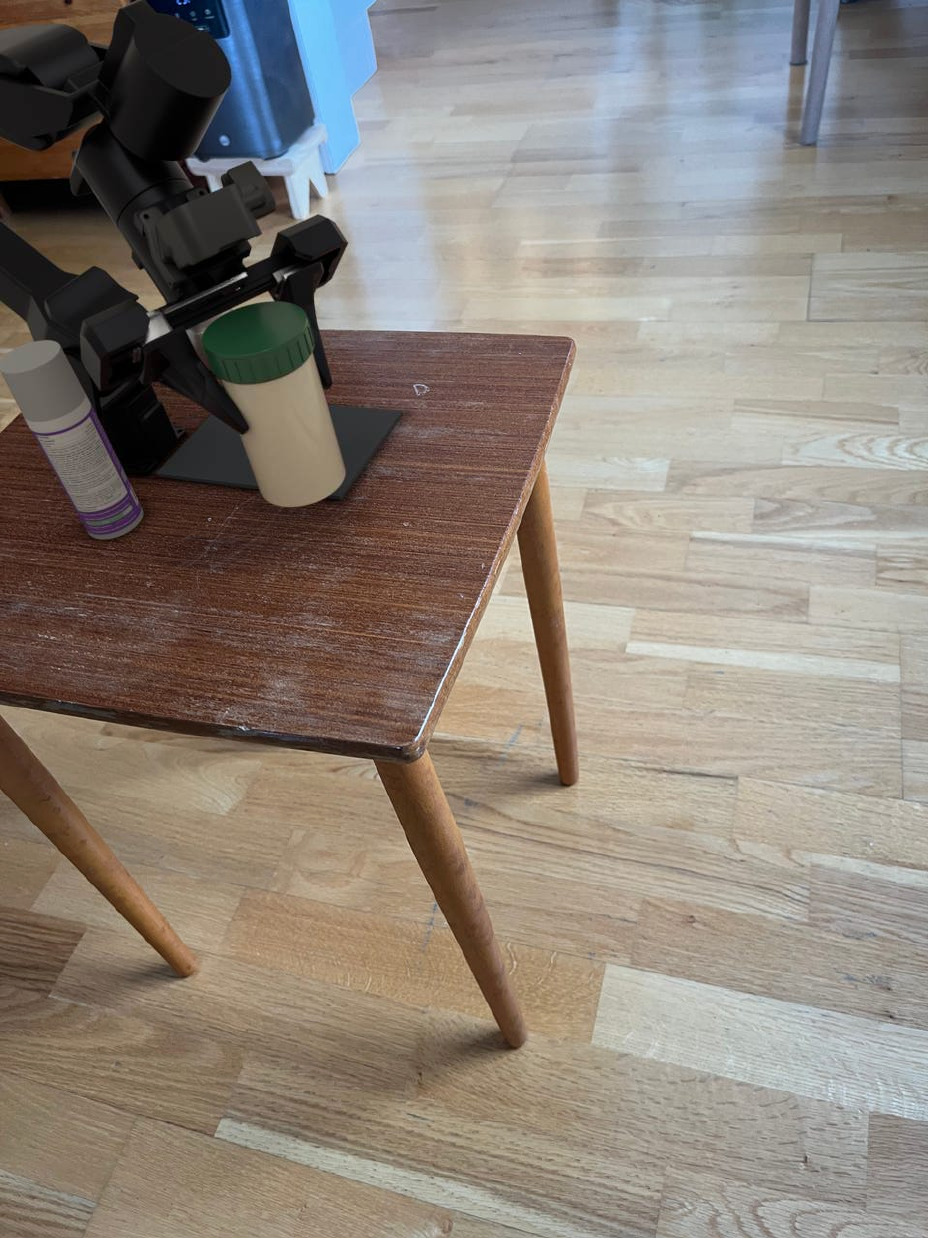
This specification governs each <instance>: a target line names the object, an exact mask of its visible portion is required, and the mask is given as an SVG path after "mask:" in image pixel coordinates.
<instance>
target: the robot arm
mask: <svg viewBox="0 0 928 1238" xmlns="http://www.w3.org/2000/svg"><path fill="white" fill-rule="evenodd" d="M114 18H115V19H114V22H113V24H112V36H111V40H110V42H109V45H106V44H103V43H97V42H94V41H89V40H88V37H87V36H86V35H85V34H84V33H82V32H81V31H80V30H79V29H77V28H75V27H73V26H71V25H68V24H65V23H48V24H47V23H45V24H29V25H23V26H17V27H11V28H7V29H1V30H0V139H2V140H4V141H6V142H8V143H10V144H13V145H15V146H18V147H20V148H22V149H24V150H27V151H30V152H36V153H37V152H38V153H39V152H44V151H46V150H48V149H51V148H52V147H53V146H56V145H57V144H60V142H62V141H64V140H66V139H68V138H70V137H71V136H73V135H75V134H77V133H78V132H80V131H82V130H85V129H86V128H88V127H89V126H91V125H92V124H94V125H92V126H91V127H90V128H88V130H86V132H85V133H84V134H83V136H82V140H81V142H80V145H79V147H78V149H74V150H72V151H71V153H70V156H71V162H72V163H71V165H72V166H71V172H70V174H69V184H70V190H71V193H72V194H73V195H74V196H77V197H78V196H84V195H90V194H93V193H94V195H95V197H96V199H97V200H98V201H99V203H100V205H101V206H102V208H103V209H104V210H105V212H106V213H107V215H108V216H109V218H110V220H111V221H112V222H113V224H114V225H115V227H116V228H117V230H118V232H119V233H120V234H121V236H122V237H123V239H124V240H125V242H126V243H127V246H128V247H129V248H130V250H131V260H132V261H133V263H134V264H135V265H136V267H137V268H138V270H139V271H142V270H144V271H145V272H146V274H147V275H148V277H149V278H150V280H151V281H152V283H153V285H154V286H155V287H156V289H157V290H158V292H159V293H160V295H161V297H162V298H163V300H164V299H165V301H166V302H167V304H164V305H162V306H160V307H158V308H154V309H152V310H148V309H147V308H146V307H145V306H144V305H143V304H141V303H140V302H139V301H138V300H139V299H140V296H139V295H138V294H136V293H134V292H133V291H129V290H128V289H127V288H125V287H123V286H122V285H121V284H120V283H119V282H117V281H116V280H115V279H114V278H113V276H111V274H109V272H107V271H106V270H105V269H103V268H101V267H98V266H96V265H92V266H90V267H89V268H88V269H86V270H85V271H84V272H82V273H81V274H78V273H77V274H76V273H73V272H72V273H71V272H67V271H65V270H63V269H62V268H60V267H59V266H58V265H57V264H56V263H54V262H53V261H52V260H50V259H49V258H48V257H47V256H45V255H44V254H43V253H42V252H40V251H39V250H38V249H37V248H36V247H34V246H33V245H32V244H31V243H29V241H27V240H26V239H24V238H23V237H22V236H21V235H19V234H18V233H17V231H15V230H13V229H12V228H11V227H9V226H8V225H7V224H6V223H5V222H3V220H1V219H0V302H1V303H2V304H4V306H6V307H7V308H9V309H10V310H11V311H12V312H13V313H15V314H16V315H17V316H19V317H20V318H21V319H22V320H23V321H24V322H25V323H26V325H27V328H28V330H29V333H30V335H31V338H32V342H36V341H42V340H50V341H55V342H57V343H58V344H59V345H60V346H61V348H62V350H63V352H64V354H65V356H66V358H67V360H68V361H69V363H70V365H71V367H72V369H73V371H74V373H75V375H76V377H77V379H78V380H79V382H80V384H81V386H82V388H83V390H84V392H85V394H86V396H87V398H88V399H89V401H90V403H91V405H92V407H93V409H94V411H95V413H96V415H97V417H98V419H99V421H100V423H101V425H102V427H103V429H104V431H105V433H106V435H107V438H108V440H109V442H110V444H111V446H112V448H113V450H114V452H115V454H116V456H117V458H118V460H119V462H120V464H121V466H122V468H123V470H124V472H125V474H130V475H138V476H148V475H149V474H151V473H152V472H153V471H154V470H155V469H156V468H157V467H158V466H159V465H160V464H161V463H162V462H163V461H164V459H166V457H168V455H169V454H170V453H172V451H173V450H174V449H175V448H177V446H178V445H179V444H180V443H181V442H182V440H183V439H185V438H186V436H187V434H188V433H187V429H186V428H183V427H175V426H173V425H172V423H171V420H170V418H169V416H168V413H167V411H166V408H165V406H164V403H163V402H162V401H161V400H159V398H158V397H157V394H156V391H155V389H154V387H153V385H152V384H154V383H157V384H159V385H162V386H164V387H165V388H168V389H169V390H171V391H173V392H175V393H177V394H179V395H180V396H182V397H184V398H186V399H187V400H190V401H191V402H193V403H194V404H196V405H198V406H199V407H201V408H202V409H204V410H205V411H206V412H207V413H209V414H210V415H211V414H212V415H214V416H215V417H217V418H218V419H220V420H221V421H223V422H224V423H226V424H227V425H228V426H230V427H231V428H233V429H234V430H236V431H237V432H239V433H240V434H242V435H244V434H246V433H248V430H249V426H248V424H247V422H246V421H245V419H244V417H243V416H242V414H241V412H240V411H239V409H238V407H237V406H236V405H235V403H234V402H233V401H232V399H231V398H230V397H229V395H228V394H227V393H226V392H225V390H224V389H223V388H222V385H221V383H220V381H218V380H217V377H216V376H214V374H213V373H212V371H209V369H208V368H207V367H206V365H205V364H204V363H203V362H202V360H201V359H200V357H199V356H198V354H197V352H196V350H195V348H194V346H193V344H192V342H191V340H190V338H189V336H188V334H187V332H186V330H188V329H190V328H192V327H194V326H196V325H198V324H200V323H202V322H204V321H207V320H209V319H211V318H213V317H215V316H217V315H219V314H221V313H223V312H225V311H227V310H230V309H233V308H236V307H238V306H240V305H243V304H244V303H247V302H249V301H250V300H252V299H255V298H257V297H259V296H261V295H263V294H265V293H268V294H269V296H270V297H271V298H272V300H273V301H281V302H288V303H292V304H295V305H297V306H299V307H301V308H302V309H303V310H304V311H305V313H306V316H307V319H308V320H309V322H310V325H311V329H312V333H313V336H314V340H313V341H314V345H315V347H314V349H313V354H314V357H315V361H316V365H317V368H318V372H319V375H320V379H321V383H322V386H323V390H324V391H328V390H329V389H331V387H332V386H333V383H334V382H333V378H332V374H331V370H330V366H329V363H328V357H327V355H326V351H325V347H324V344H323V343H324V342H323V339H322V336H321V332H320V328H319V324H318V320H317V319H318V318H317V311H316V305H315V294H316V291H317V289H320V288H322V287H324V286H325V285H326V284H328V283H330V281H331V280H332V279H333V278H334V275H335V273H336V271H337V268H338V267H339V264H340V262H341V261H342V258H343V256H344V254H345V251H346V249H347V247H348V245H349V241H348V240H347V239H346V237H345V235H344V234H343V232H342V230H341V229H340V227H339V226H338V224H337V223H336V222H335V221H334V220H332V219H330V218H329V217H326V216H324V215H321V214H319V213H318V214H316V215H313V216H311V217H309V218H306V219H304V220H302V221H300V222H298V223H296V224H293V225H291V226H289V227H287V228H284V229H282V230H280V231H278V232H277V233H276V236H275V239H274V242H273V245H272V248H271V251H270V254H269V256H268V257H266V258H263V259H262V260H259V261H257V262H255V263H253V264H251V265H248V266H246V265H245V263H244V262H243V261H244V259H246V258H249V257H250V255H251V252H252V248H253V246H252V245H251V244H250V240H252V239H254V238H258V237H260V236H262V235H263V231H262V229H261V228H260V225H259V223H258V221H260V220H262V219H264V218H266V217H268V216H270V215H271V214H273V213H275V212H276V211H277V201H276V198H275V196H274V194H273V192H272V190H271V187H270V185H269V183H268V181H267V180H266V179H265V177H264V176H263V174H262V173H261V172H260V170H259V169H258V168H257V166H256V165H255V164H254V162H253V160H249V161H246V162H244V163H241V164H238V165H236V166H234V167H231V168H229V169H227V171H226V172H225V173H223V174H221V176H220V183H221V185H222V187H221V188H218V189H215V190H214V191H212V192H208V191H207V189H205V188H204V187H203V186H202V184H197V185H195V186H194V185H193V184H192V182H191V181H190V179H189V178H188V176H187V175H186V173H185V172H184V170H183V169H182V167H181V166H180V164H179V163H178V162H181V161H185V160H187V159H189V158H191V157H192V156H193V155H194V153H195V152H196V151H197V149H198V147H199V146H200V144H201V142H202V140H203V138H204V136H205V134H206V132H207V130H208V128H209V126H210V125H211V123H212V121H213V119H214V118H215V115H216V114H217V111H218V109H219V107H220V105H221V103H222V102H223V99H224V98H225V96H226V94H227V92H228V90H229V87H230V86H231V82H232V80H233V79H232V78H233V77H232V67H231V65H230V62H229V58H228V56H227V55H226V53H225V52H224V50H223V48H222V47H221V45H220V44H219V43H218V42H217V40H215V38H214V37H213V36H212V35H211V34H210V32H209V33H208V31H206V30H203V29H199V28H198V27H197V26H195V25H194V24H192V23H190V22H188V21H186V20H184V19H182V18H180V17H178V16H175V15H172V14H165V13H160V12H159V13H158V12H156V11H155V10H154V8H153V7H151V6H150V5H149V4H148V2H146V0H134V1H133V2H131V3H128V4H127V5H124V6H121V7H120V8H118V10H117V14H116V16H115V17H114ZM100 120H101V121H100ZM98 121H100V122H99V123H96V122H98ZM95 123H96V124H95ZM165 301H164V302H165Z"/></svg>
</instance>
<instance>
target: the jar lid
mask: <svg viewBox="0 0 928 1238" xmlns="http://www.w3.org/2000/svg"><path fill="white" fill-rule="evenodd" d="M313 340H314V336H313V333H312V329H311V325H310V322H309V320H308V319H307V316H306V313H305V311H304V310H303V309H302V308H301V307H299V306H297V305H295V304H292V303H288V302H281V301H274V300H273V301H271V300H270V301H260V302H255V303H250V304H247V305H243V306H241V307H238V308H235V309H233V310H232V311H230V312H228V313H226V314H224V315H222V316H220V317H219V318H217V319H216V320H214V321H213V322H212V323H211V324H210V325H209V326H208V327H207V328H206V330H205V331H204V333H203V335H202V344H203V350H204V353H205V355H206V358H207V361H208V363H209V366H210V367H211V370H212V371H211V373H212V375H215V377H216V378H218V379H219V378H220V379H222V380H224V381H227V382H231V383H241V384H246V383H257V382H263V381H267V380H271V379H274V378H277V377H280V376H283V375H285V374H287V373H289V372H291V371H293V370H295V369H296V368H298V367H299V366H301V365H302V364H303V363H304V362H305V361H306V360H307V359H308V358H309V357H310V356H311V354H312V352H313V349H314V347H315V345H314V341H313Z"/></svg>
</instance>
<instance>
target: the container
mask: <svg viewBox="0 0 928 1238" xmlns="http://www.w3.org/2000/svg"><path fill="white" fill-rule="evenodd" d="M0 374H1V376H2V378H3V380H4V382H5V383H6V385H7V387H8V389H9V392H10V394H11V395H12V397H13V399H14V401H15V403H16V405H17V407H18V409H19V411H20V413H21V414H22V416H23V419H24V420H25V422H26V424H27V426H28V428H29V430H30V431H31V433H32V435H33V437H34V439H35V440H36V443H37V444H38V446H39V448H40V449H41V451H42V454H43V455H44V456H45V459H46V460H47V462H48V464H49V466H50V468H51V470H52V471H53V473H54V475H55V477H56V478H57V480H58V482H59V483H60V485H61V487H62V489H63V491H64V493H65V494H66V496H67V498H68V499H69V502H70V503H71V505H72V507H73V509H74V511H75V512H76V515H77V516H78V517H79V520H80V521H81V523H82V525H83V526H84V529H85V530H86V532H87V533H88V535H89V536H90V537H92V538H93V539H96V540H112V539H115V538H119V537H121V536H124V535H126V534H128V533H129V532H131V531H132V530H134V529H135V528H137V526H139V524H140V523H141V521H142V520H143V518H144V509H143V507H142V505H141V503H140V500H139V499H138V496H137V495H136V493H135V491H134V489H133V486H132V484H131V482H130V480H129V479H128V476H127V473H125V472H124V470H123V468H122V466H121V464H120V462H119V460H118V458H117V456H116V454H115V452H114V450H113V448H112V446H111V444H110V442H109V440H108V438H107V435H106V433H105V431H104V429H103V427H102V425H101V423H100V421H99V419H98V417H97V415H96V413H95V411H94V409H93V407H92V405H91V403H90V401H89V399H88V398H87V396H86V394H85V392H84V390H83V388H82V386H81V384H80V382H79V380H78V379H77V377H76V375H75V373H74V371H73V369H72V367H71V365H70V363H69V361H68V360H67V358H66V356H65V354H64V352H63V350H62V348H61V346H60V345H59V344H58V343H57V342H55V341H50V340H42V341H36V342H34V341H31V342H27V343H25V344H23V345H20V346H17V347H15V348H14V349H11V350H10V351H8V352H7V353H6V354H5V355H4V356H3V357H1V359H0Z"/></svg>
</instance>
